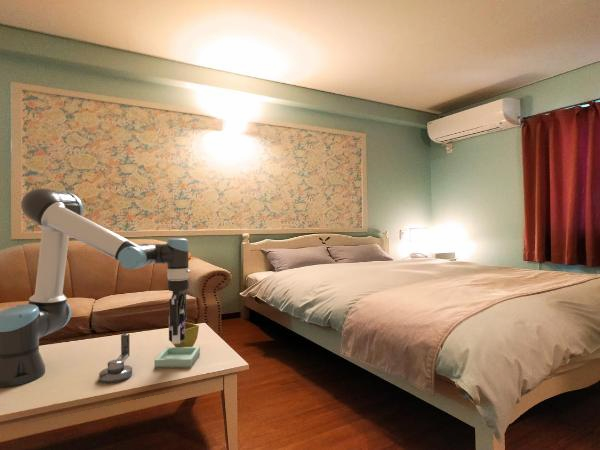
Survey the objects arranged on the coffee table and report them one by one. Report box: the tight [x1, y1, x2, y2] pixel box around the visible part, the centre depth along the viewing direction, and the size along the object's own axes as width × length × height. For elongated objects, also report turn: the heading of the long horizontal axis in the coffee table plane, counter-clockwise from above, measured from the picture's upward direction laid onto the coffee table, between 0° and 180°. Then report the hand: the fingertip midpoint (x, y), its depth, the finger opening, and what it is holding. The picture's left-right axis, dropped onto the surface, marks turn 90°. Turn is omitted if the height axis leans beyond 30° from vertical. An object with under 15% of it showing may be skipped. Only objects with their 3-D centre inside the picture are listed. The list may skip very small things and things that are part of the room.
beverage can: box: [168, 308, 186, 344], centre depth 132 cm, size 6×6×12 cm
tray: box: [154, 346, 201, 369], centre depth 132 cm, size 13×13×3 cm
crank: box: [107, 332, 131, 374], centre depth 124 cm, size 15×5×9 cm, turn 12°
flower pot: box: [172, 321, 200, 347], centre depth 147 cm, size 9×9×9 cm
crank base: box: [98, 364, 133, 385], centre depth 119 cm, size 10×10×2 cm
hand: (178, 340), depth 132 cm, fingers closed on beverage can, 6 cm apart
